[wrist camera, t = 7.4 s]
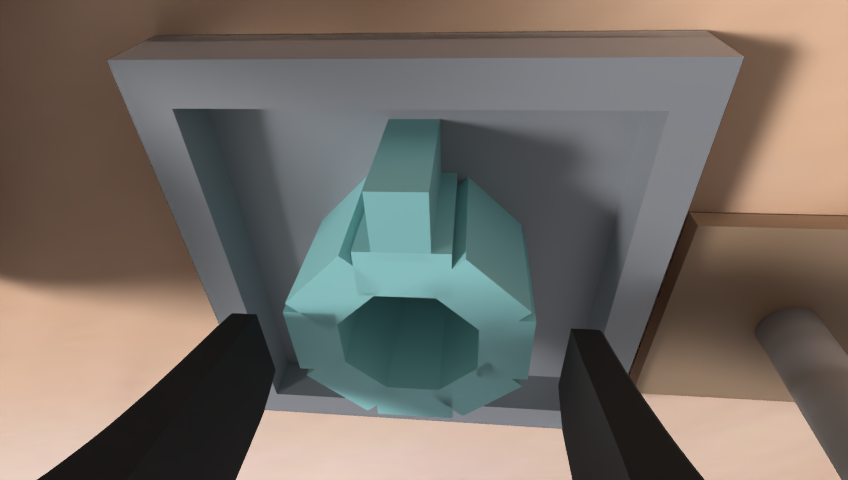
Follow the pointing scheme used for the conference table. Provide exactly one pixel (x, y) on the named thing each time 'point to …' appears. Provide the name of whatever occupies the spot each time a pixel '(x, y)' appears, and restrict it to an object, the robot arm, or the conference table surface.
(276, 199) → the tray
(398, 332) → the ring
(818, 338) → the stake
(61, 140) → the conference table surface
